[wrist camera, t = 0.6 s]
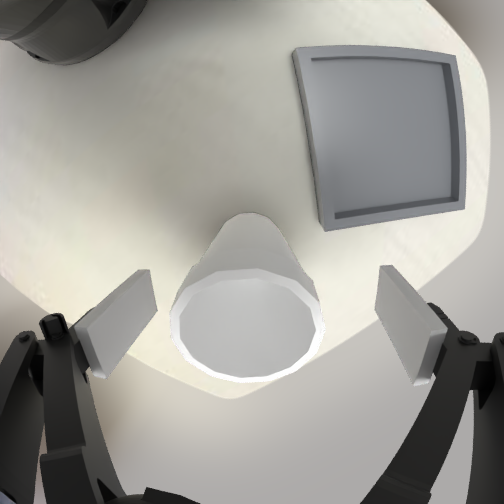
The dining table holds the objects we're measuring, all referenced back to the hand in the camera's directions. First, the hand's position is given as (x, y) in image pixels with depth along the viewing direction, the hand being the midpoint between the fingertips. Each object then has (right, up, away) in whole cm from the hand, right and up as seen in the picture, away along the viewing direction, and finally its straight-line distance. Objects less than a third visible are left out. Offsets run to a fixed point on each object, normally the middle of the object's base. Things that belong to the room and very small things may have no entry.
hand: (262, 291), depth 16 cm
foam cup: (-1, +3, +13) cm, 13 cm away
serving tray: (+12, +13, +7) cm, 20 cm away
